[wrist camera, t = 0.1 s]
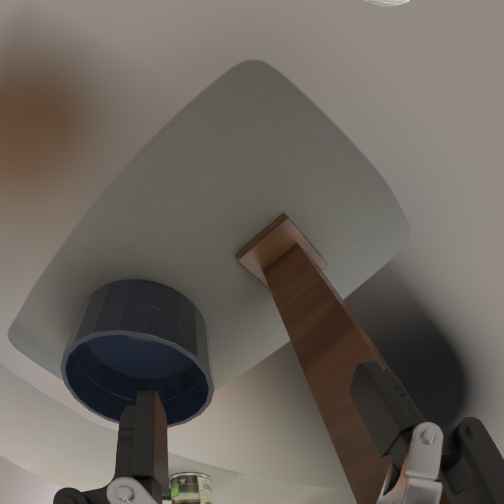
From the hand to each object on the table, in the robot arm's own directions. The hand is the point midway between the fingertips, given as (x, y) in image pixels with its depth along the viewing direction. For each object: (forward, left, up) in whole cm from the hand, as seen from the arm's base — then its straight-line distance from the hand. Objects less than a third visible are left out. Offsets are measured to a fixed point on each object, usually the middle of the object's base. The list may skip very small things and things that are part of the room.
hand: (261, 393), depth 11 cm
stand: (+10, +1, -23) cm, 25 cm away
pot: (+6, -19, -23) cm, 30 cm away
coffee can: (+44, -53, -23) cm, 72 cm away
